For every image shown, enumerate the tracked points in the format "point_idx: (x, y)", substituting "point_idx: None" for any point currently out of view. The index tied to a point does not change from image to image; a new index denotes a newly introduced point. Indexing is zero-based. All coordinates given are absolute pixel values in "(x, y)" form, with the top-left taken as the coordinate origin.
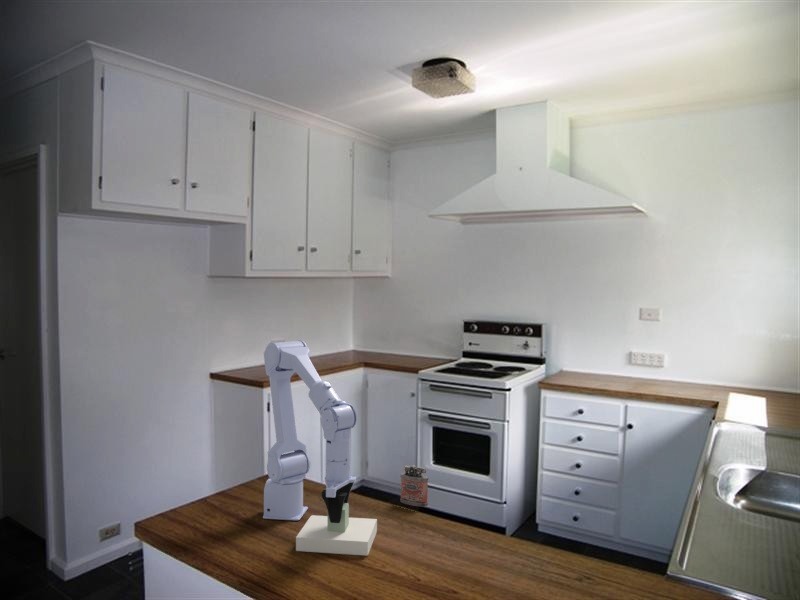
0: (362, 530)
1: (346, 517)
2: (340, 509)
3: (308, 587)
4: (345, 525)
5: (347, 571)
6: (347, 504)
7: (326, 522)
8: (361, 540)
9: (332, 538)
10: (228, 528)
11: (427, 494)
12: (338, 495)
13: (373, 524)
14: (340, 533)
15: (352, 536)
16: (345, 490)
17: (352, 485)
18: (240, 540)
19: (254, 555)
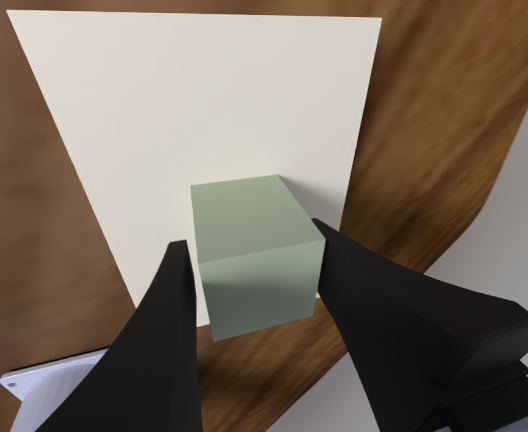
0: (245, 88)
1: (259, 208)
2: (381, 260)
3: (482, 167)
4: (274, 188)
5: (440, 84)
6: (226, 262)
7: (197, 274)
8: (364, 63)
9: (336, 200)
10: (221, 402)
11: None
12: (514, 360)
13: (130, 25)
14: (292, 187)
15: (318, 125)
16: (182, 385)
17: (68, 423)
18: (268, 365)
19: (329, 318)
